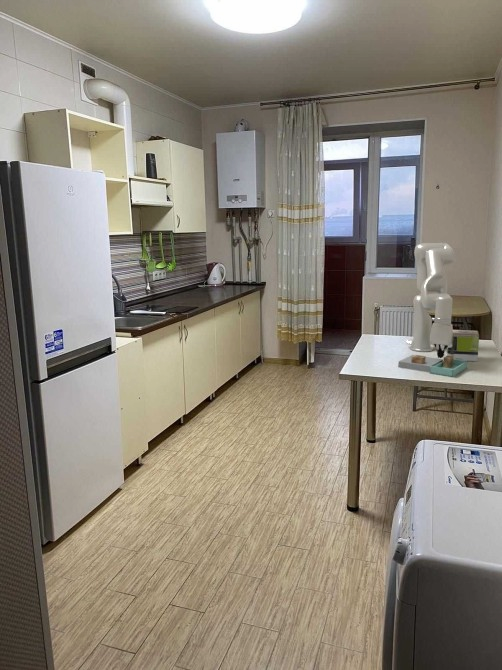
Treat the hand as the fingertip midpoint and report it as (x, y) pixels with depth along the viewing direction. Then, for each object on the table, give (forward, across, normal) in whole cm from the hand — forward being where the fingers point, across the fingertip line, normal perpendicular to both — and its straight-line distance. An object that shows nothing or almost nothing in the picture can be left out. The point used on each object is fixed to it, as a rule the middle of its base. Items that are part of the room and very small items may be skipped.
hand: (440, 357), depth 257 cm
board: (+5, -8, -5) cm, 10 cm away
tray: (+4, +6, -5) cm, 9 cm away
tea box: (+5, +3, +22) cm, 23 cm away
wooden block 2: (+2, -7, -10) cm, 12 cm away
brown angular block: (+2, +3, -1) cm, 3 cm away
